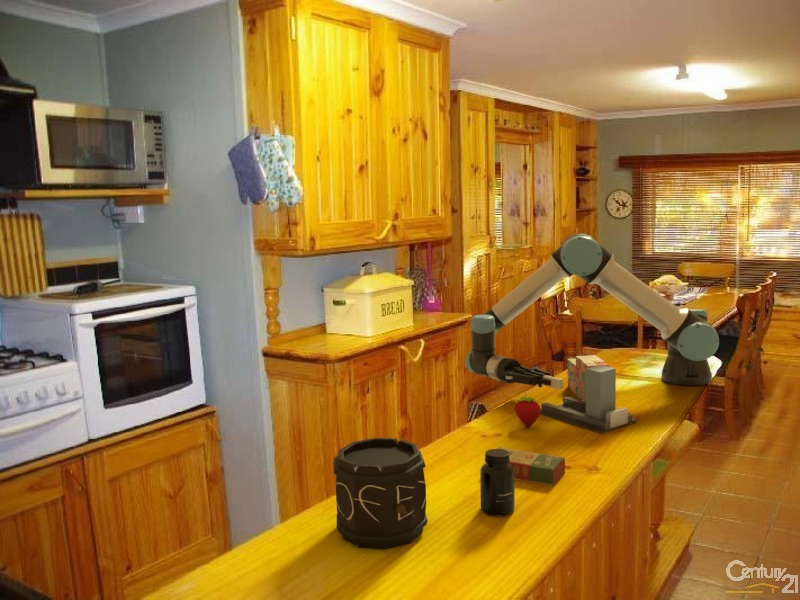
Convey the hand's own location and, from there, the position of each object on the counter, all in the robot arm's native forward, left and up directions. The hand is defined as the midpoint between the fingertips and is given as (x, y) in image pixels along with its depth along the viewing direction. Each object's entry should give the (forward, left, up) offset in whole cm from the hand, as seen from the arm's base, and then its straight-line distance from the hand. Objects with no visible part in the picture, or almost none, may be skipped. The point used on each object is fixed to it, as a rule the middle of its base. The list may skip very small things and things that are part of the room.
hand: (561, 384), depth 204 cm
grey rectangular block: (0, +14, -8) cm, 16 cm away
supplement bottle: (+57, +37, -8) cm, 68 cm away
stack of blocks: (-17, -6, -8) cm, 20 cm away
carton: (+39, +26, -8) cm, 48 cm away
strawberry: (+18, +5, -8) cm, 20 cm away
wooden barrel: (+80, +30, -8) cm, 85 cm away
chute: (0, +9, -8) cm, 12 cm away
